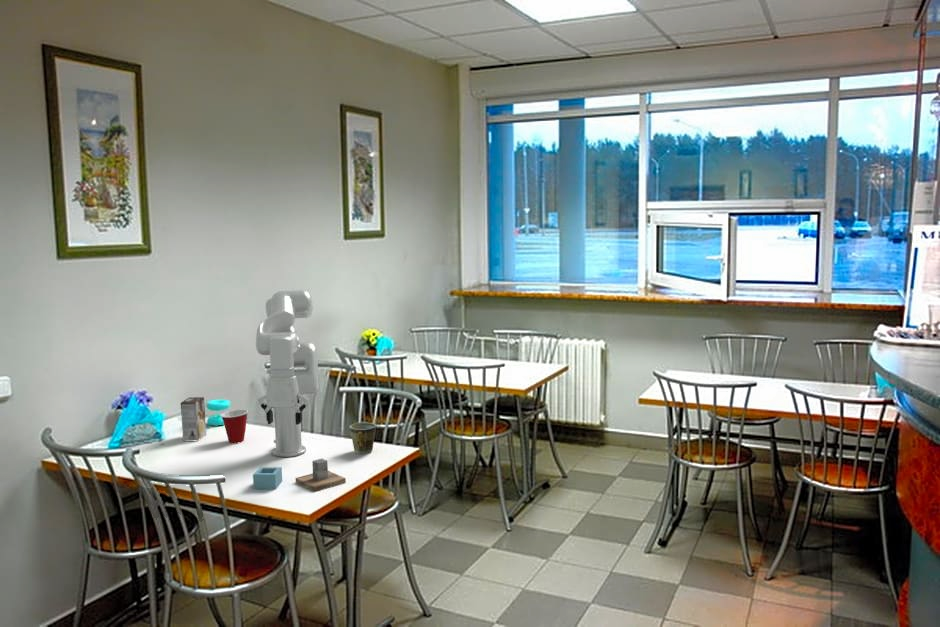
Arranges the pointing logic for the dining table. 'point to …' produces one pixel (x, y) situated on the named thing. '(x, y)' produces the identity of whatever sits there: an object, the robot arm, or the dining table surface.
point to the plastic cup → (235, 424)
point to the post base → (320, 483)
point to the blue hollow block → (267, 478)
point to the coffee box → (193, 418)
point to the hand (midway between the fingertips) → (284, 423)
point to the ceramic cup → (363, 437)
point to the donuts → (217, 406)
